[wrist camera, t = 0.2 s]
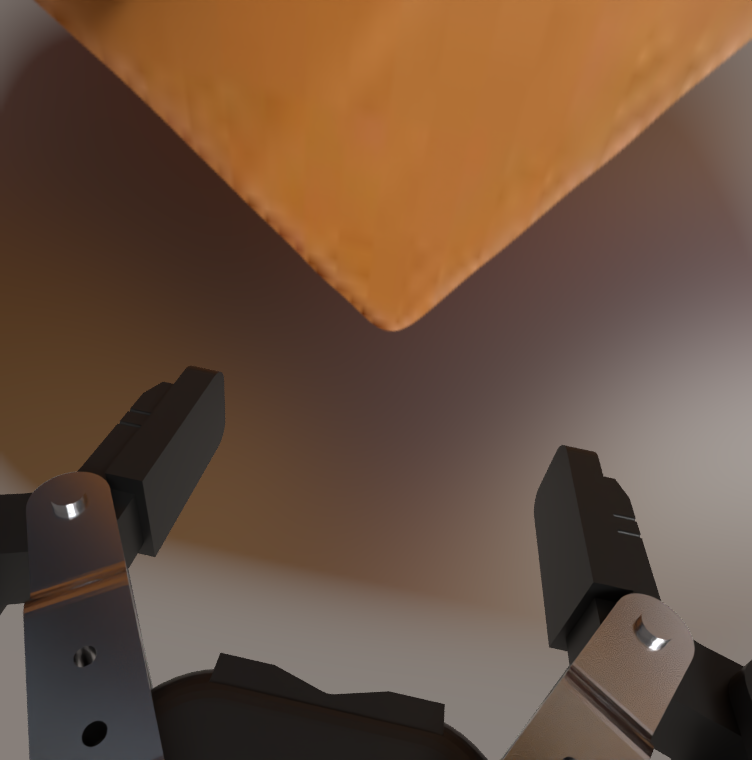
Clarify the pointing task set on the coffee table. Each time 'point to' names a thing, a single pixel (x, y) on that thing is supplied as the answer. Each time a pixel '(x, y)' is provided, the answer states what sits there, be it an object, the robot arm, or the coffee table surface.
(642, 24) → the coffee table surface
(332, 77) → the coffee table surface
